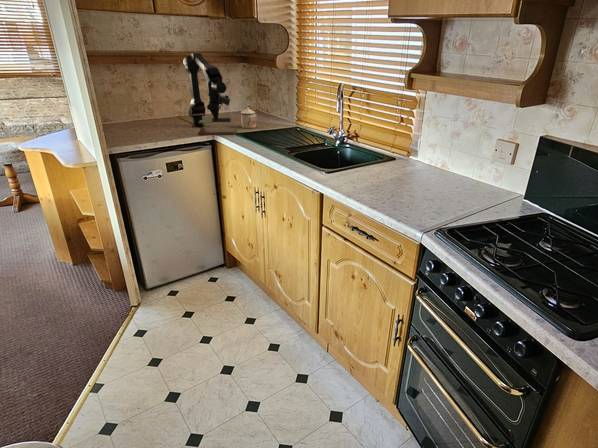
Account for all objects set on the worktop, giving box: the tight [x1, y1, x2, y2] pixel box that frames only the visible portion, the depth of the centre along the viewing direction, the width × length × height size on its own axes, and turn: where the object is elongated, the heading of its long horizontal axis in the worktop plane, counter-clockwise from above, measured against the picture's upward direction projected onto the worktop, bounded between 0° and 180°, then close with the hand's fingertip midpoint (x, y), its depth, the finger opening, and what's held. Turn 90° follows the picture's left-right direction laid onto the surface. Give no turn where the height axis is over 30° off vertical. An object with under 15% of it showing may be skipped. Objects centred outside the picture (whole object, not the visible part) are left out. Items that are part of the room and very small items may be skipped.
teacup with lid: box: [240, 107, 258, 129], centre depth 248 cm, size 12×9×12 cm
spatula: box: [199, 117, 232, 124], centre depth 229 cm, size 17×6×2 cm, turn 98°
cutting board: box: [197, 128, 237, 136], centre depth 233 cm, size 9×20×2 cm, turn 98°
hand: (216, 120), depth 229 cm, fingers closed on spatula, 2 cm apart
